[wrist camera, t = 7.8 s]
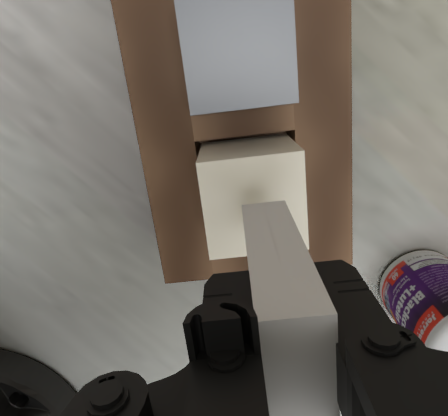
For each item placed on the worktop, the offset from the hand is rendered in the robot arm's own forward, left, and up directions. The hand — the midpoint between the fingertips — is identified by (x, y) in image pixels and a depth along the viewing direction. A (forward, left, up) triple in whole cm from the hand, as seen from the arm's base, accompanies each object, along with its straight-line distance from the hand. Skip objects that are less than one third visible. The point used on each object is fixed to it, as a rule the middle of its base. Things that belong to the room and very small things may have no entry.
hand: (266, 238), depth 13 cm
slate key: (0, +6, -9) cm, 11 cm away
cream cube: (0, 0, -8) cm, 8 cm away
